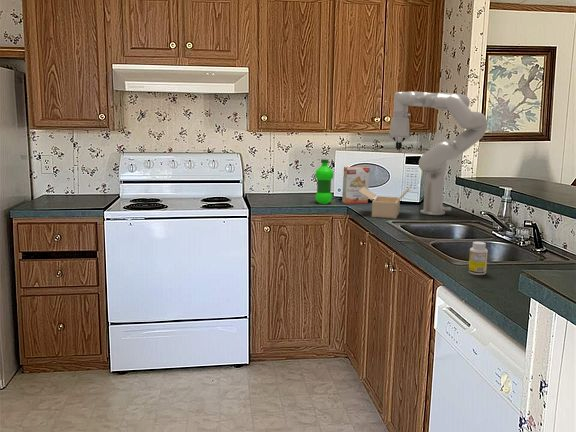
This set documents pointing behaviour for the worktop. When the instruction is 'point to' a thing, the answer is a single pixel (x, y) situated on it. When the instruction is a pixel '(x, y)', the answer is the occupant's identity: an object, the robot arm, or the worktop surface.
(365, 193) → the flap far
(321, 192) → the plastic bottle
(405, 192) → the flap near
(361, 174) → the cracker box
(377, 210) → the carton
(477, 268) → the supplement bottle
